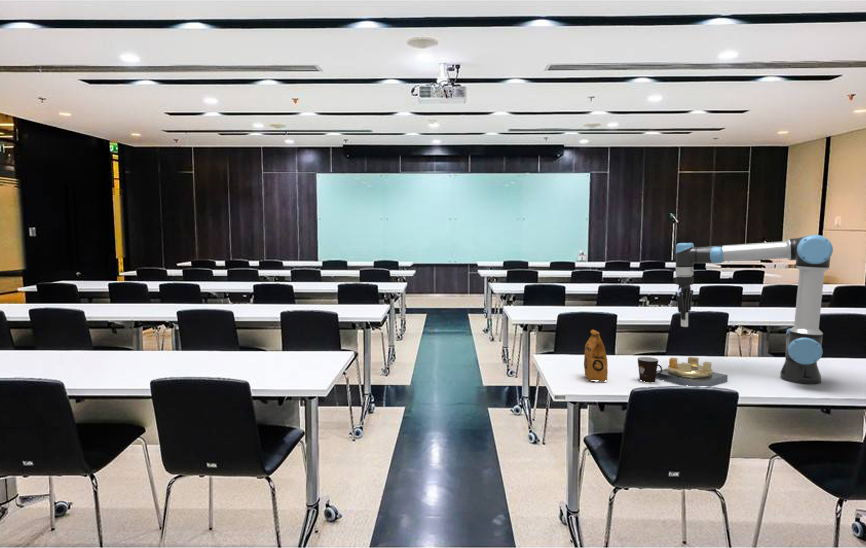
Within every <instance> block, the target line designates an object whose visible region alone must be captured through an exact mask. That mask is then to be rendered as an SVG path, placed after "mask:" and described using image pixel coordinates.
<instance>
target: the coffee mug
mask: <svg viewBox="0 0 866 548" xmlns="http://www.w3.org/2000/svg"><path fill="white" fill-rule="evenodd" d="M637 367H638V374H639V377H638V378H639V381H640V380H642V381H645V382H654V383H655V382H656V380H657V379H656V376H657V375H659V374H660V373H661V372H662V370H663V367H662V365H660V364H659V359H658V358H655V357H651V356H650V357H649V356H640V357H637ZM658 367H659V368H660V370H661V371H660V373H658V374H656V372H657V371H658ZM645 382H644V383H645Z"/></svg>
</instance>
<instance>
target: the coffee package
mask: <svg viewBox="0 0 866 548" xmlns="http://www.w3.org/2000/svg"><path fill="white" fill-rule="evenodd" d="M590 334H591V335H590V337H588V340H587V341H586V343H585V344H584V355H583V356H584V357H583V358H584V360H583V369H584V376H585V377H586V379H588V380H589V381H590V380H599V381H605V380H607V381H608V373H609V372H608V370H609V369H608V357H607V354H606V348H605V345H604V342H603V340H602V339H601V336H600V332H599V331H597V330H595V329H591V330H590Z"/></svg>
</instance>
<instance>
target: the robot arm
mask: <svg viewBox="0 0 866 548" xmlns="http://www.w3.org/2000/svg"><path fill="white" fill-rule="evenodd" d="M833 252H834V246H833V244H832V242H831V240H829V239H828V238H827V237H825V236H823V235H820V234H810V235H805V236H801V237H797V238H796V237H795V238H788V239H787V240H786V241H771V242H770V241H769V242H757V243H742V244H741V243H738V244H727V245H726V244H725V245H724V244H723V245H708V246H700V247H699V246H694V243H693V242H680V243H677V244H676V245H675V276H676V277H675V285H678V290H677V291H675V292H674V293H675V297H676V304H677V312H678V313H680V327H683V328H688V327H689V313H691V310H692V301H693V294H694V289H692V288H691V286H692V285H694V272H695V269H694V264H714V265H715V264H722V263H723V262H736V261H738V262H740V261H741V262H742V261H755V260H756V261H759V260H776V259H778V260H779V259H788V260H789V261H795V268H796V269H797V270H798V271H799V272H798V282H797V283H798V285H797V291H796V292H797V293H796V303H795V304H796V305H795V314H794V323H793V324H794V325H793V326H792V327H789V328H787V329H786V333H785V337H786V338H785V339H786V340H785V360H784V363H783V366H782V368H781V371H780V374H779V375H780V376H779V377H780V379H781V380H784V381H788V382H791V383H797V384H806V385H816V384H820V383H822V376H821V372H820V370H819V367H818V361H820V359H821V358H822V355H823V348H822V344H823V337H824V336H823V335H824V333H823V332H822V330H820V321H821V320H820V317H821V309H822V308H821V307H822V299H823V288H824V279H825V273H826V271H828V270H830V265H831V264H830V263H831V257H832V254H833Z"/></svg>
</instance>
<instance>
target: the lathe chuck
mask: <svg viewBox="0 0 866 548" xmlns="http://www.w3.org/2000/svg"><path fill="white" fill-rule="evenodd" d="M699 358H700V357H695V356H688V357H687V362H681V363H678V358H677V357H670V358H669V362H668V363H669V365H668V366H667V368H668V372H669V373H671V374H674V375H677V376H682V377H690V378H706V377H711V376H712V372H713V369H712V362H711V361H704V362H703V363H702V365H701V364H699Z"/></svg>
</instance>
